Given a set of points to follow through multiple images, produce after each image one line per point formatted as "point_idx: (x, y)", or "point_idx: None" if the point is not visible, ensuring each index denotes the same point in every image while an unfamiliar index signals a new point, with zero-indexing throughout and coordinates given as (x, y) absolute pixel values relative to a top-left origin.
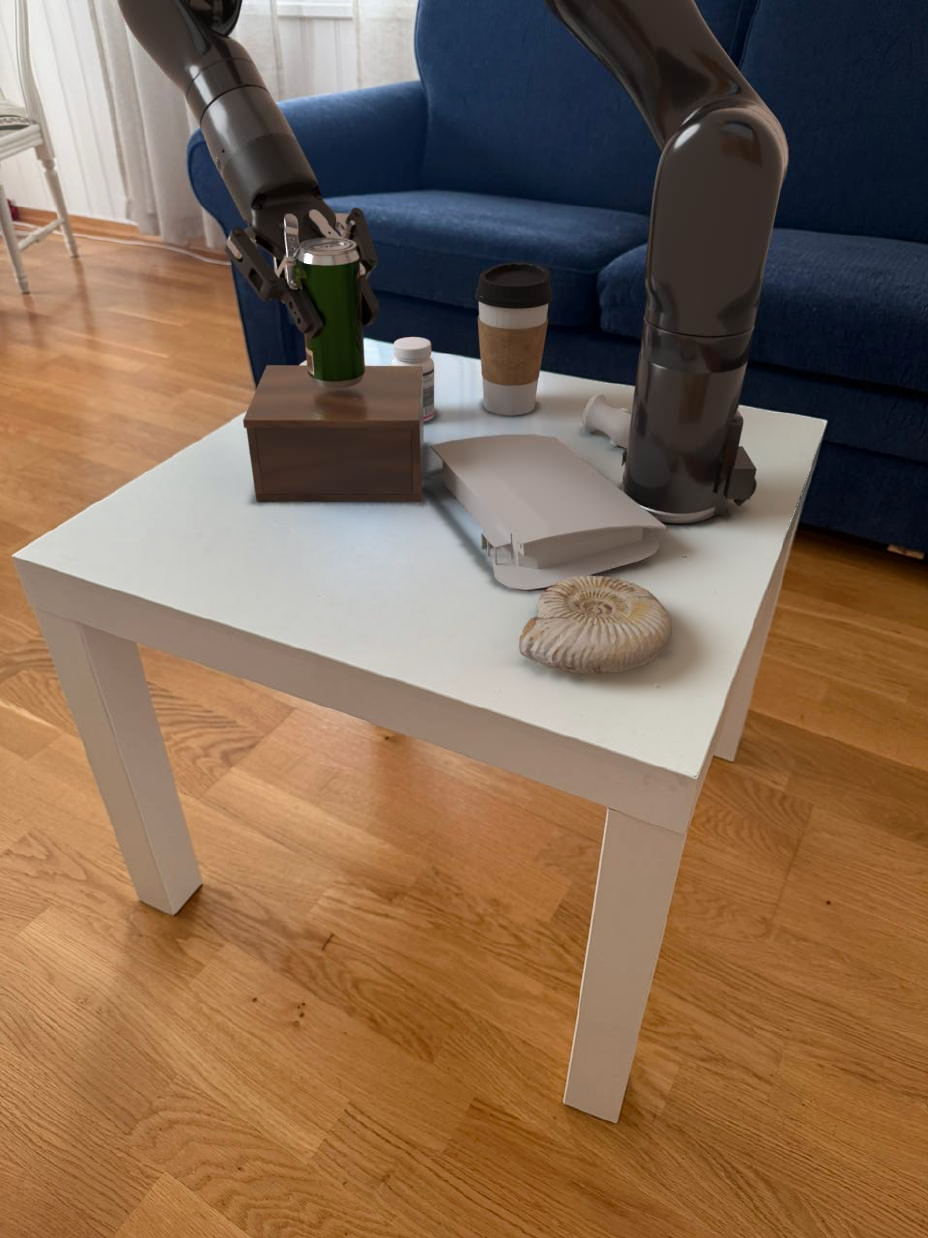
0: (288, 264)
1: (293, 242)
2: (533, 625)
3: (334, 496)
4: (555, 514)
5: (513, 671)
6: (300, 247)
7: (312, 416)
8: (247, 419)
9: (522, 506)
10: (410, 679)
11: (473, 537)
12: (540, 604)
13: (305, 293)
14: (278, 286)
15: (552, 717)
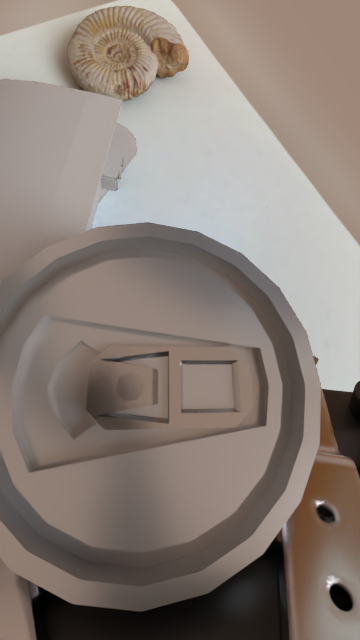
0: (328, 451)
1: (326, 563)
2: (179, 43)
3: None
4: (63, 114)
5: (191, 78)
6: (318, 416)
7: None
8: (313, 356)
9: (77, 141)
10: (250, 106)
11: (112, 207)
12: (149, 75)
13: None
14: (346, 400)
15: (196, 43)
